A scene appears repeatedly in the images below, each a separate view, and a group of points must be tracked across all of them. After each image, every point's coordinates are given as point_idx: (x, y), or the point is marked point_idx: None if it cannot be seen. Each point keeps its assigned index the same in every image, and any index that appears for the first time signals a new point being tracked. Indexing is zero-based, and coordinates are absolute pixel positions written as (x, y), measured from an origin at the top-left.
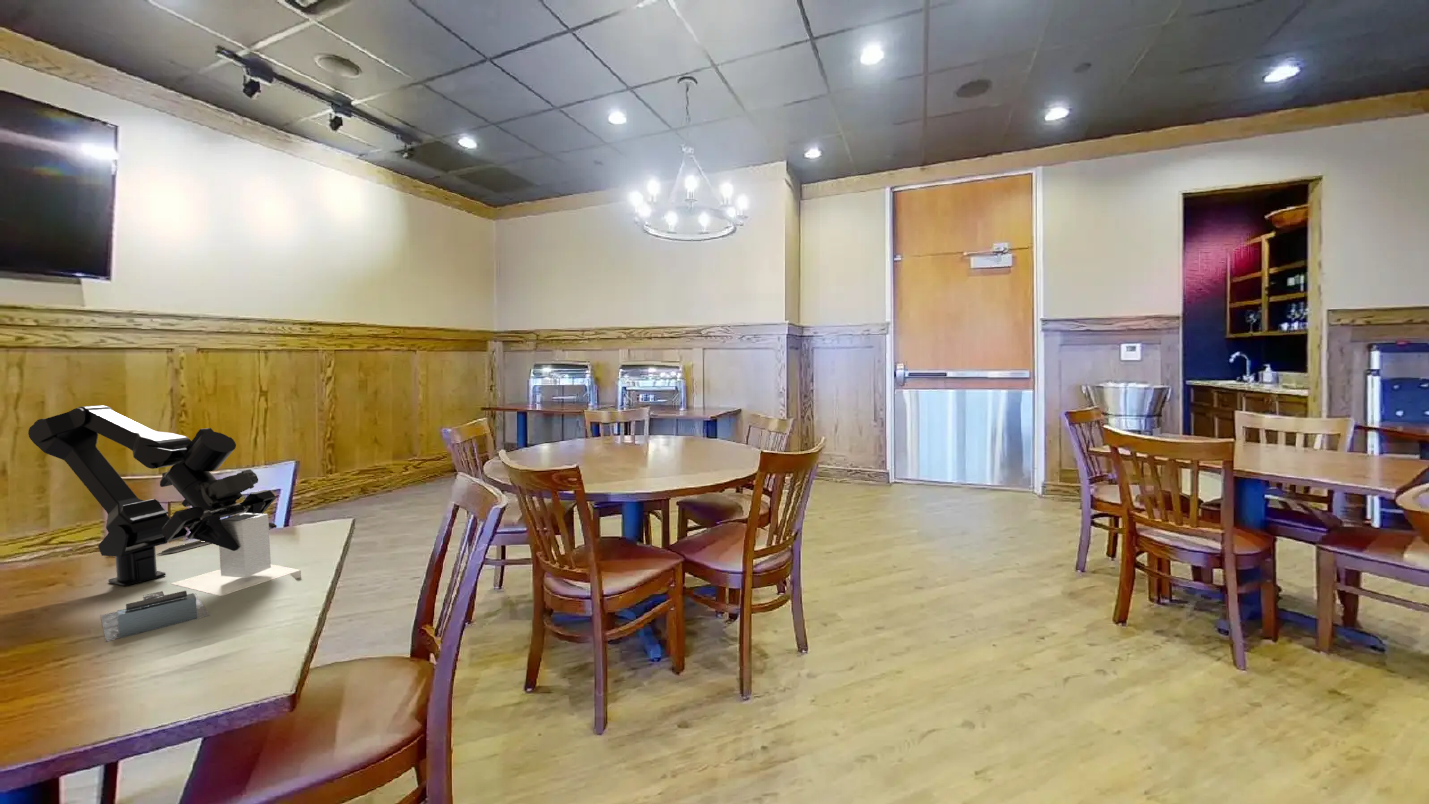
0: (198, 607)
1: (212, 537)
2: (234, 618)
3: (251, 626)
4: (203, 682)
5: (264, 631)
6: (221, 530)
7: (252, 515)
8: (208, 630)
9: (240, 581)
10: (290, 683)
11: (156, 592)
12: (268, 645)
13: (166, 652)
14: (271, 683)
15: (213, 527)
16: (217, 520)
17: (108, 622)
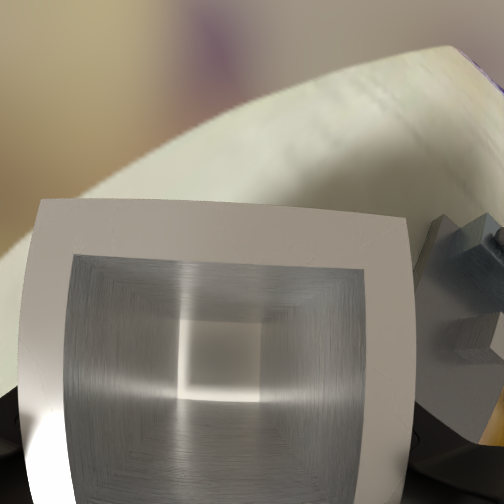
0: (428, 283)
1: None
2: (402, 193)
3: (410, 138)
4: (487, 109)
5: (411, 109)
6: (414, 414)
7: (70, 398)
8: (445, 200)
9: (248, 357)
10: (447, 47)
11: (496, 351)
12: (428, 86)
13: (493, 202)
14: (455, 58)
15: (465, 443)
16: (475, 467)
17: (494, 396)
